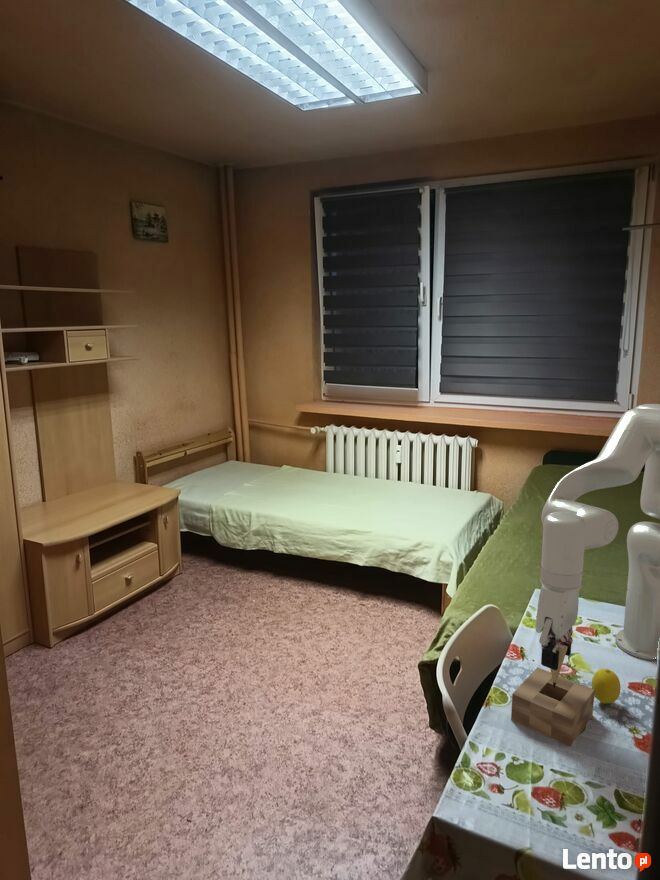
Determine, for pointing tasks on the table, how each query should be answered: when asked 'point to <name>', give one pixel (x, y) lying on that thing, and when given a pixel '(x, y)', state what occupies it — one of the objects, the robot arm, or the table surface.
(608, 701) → the lemon
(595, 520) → the robot arm
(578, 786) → the table surface
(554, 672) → the ice cream cone
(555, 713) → the cone stand
